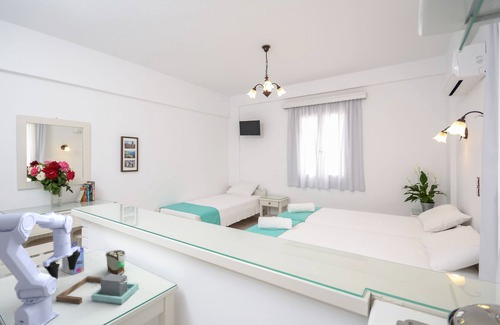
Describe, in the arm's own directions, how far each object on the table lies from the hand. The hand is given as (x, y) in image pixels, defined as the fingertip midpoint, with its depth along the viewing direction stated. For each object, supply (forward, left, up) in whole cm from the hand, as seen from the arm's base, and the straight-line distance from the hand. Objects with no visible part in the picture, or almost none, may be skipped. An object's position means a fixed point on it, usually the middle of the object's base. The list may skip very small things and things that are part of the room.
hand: (63, 274), depth 97 cm
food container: (+21, -9, -10) cm, 25 cm away
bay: (+4, -6, -9) cm, 12 cm away
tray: (+4, -22, -9) cm, 24 cm away
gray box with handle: (+4, -21, -9) cm, 23 cm away
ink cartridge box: (+18, +15, -10) cm, 25 cm away
